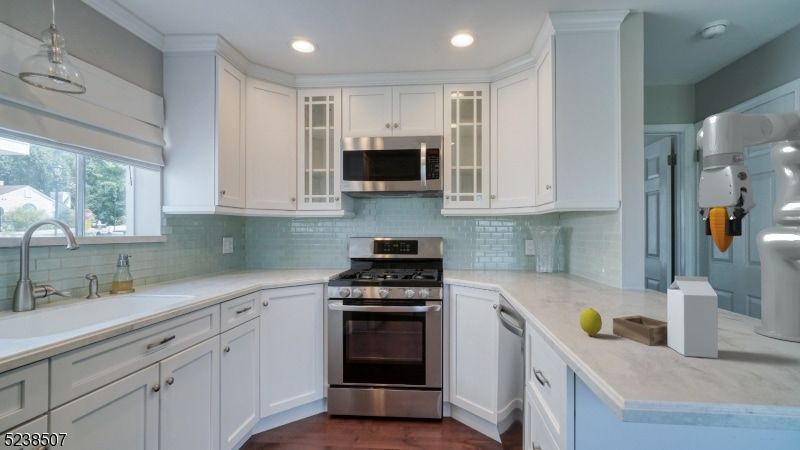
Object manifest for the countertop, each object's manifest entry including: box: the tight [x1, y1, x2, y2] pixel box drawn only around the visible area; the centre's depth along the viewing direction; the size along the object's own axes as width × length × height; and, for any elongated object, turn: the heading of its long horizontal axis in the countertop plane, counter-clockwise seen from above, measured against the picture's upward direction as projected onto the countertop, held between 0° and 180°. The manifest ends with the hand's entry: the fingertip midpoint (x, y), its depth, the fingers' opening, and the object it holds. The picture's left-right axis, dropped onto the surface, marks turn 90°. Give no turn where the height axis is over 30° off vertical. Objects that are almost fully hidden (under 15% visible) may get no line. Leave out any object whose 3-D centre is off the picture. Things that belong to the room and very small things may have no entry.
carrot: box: [710, 207, 736, 254], centre depth 86 cm, size 5×5×15 cm
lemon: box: [579, 307, 603, 337], centre depth 98 cm, size 6×6×8 cm
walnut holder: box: [612, 315, 668, 347], centre depth 97 cm, size 11×11×4 cm
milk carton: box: [666, 275, 719, 359], centre depth 85 cm, size 7×7×19 cm
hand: (722, 234), depth 86 cm, fingers closed on carrot, 4 cm apart
